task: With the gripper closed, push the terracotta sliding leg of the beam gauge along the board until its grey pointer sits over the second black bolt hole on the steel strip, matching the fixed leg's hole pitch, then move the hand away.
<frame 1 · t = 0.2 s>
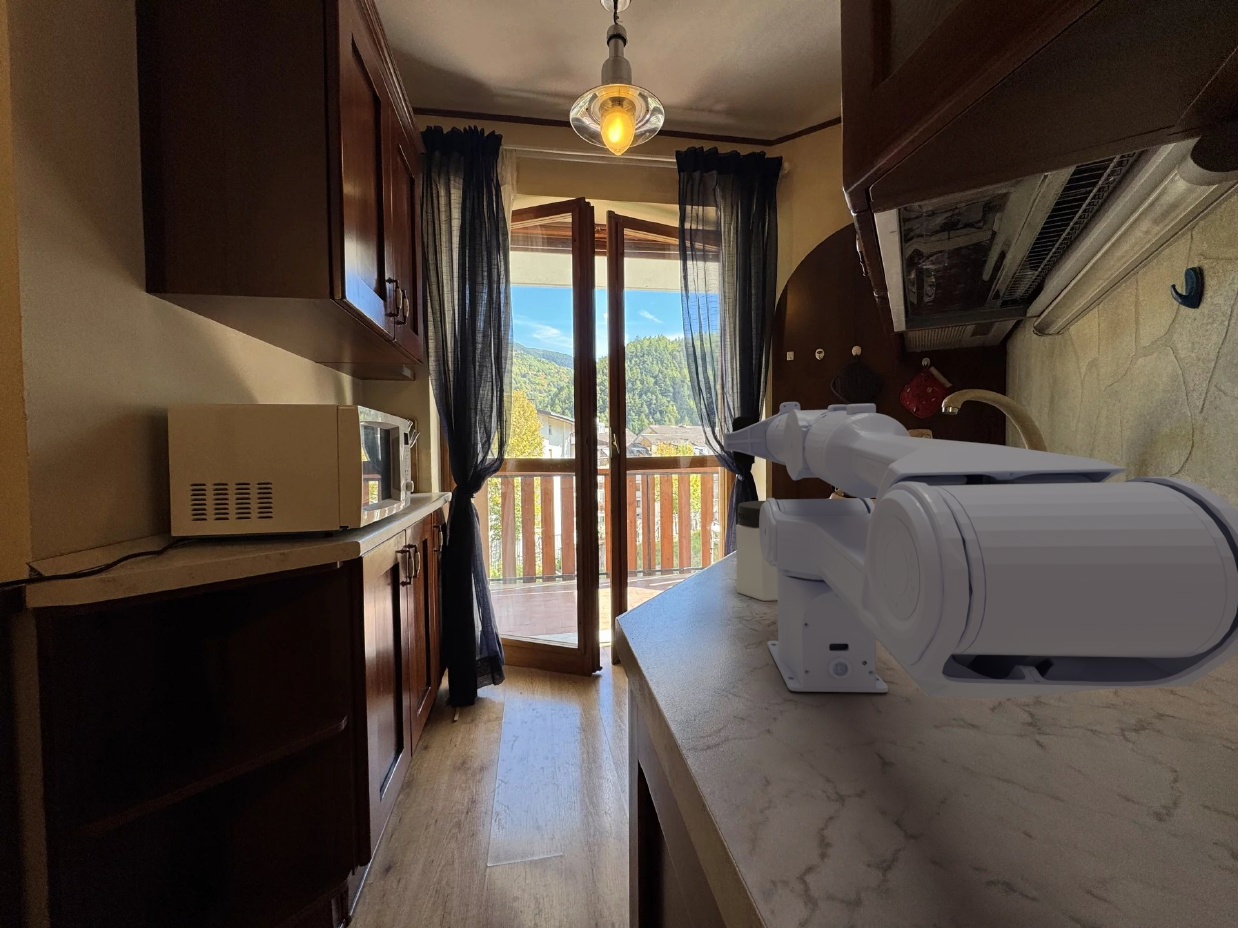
hand: (775, 436, 65), 21 cm above the worktop, tool horizontal, fingers open, 7 cm apart
board: (959, 617, 57), on the worktop
fixed leg: (889, 625, 56), resting on board
sliding leg: (937, 588, 58), point 3 cm above the worktop, slide at 0.0 cm
jar: (769, 592, 69), on the worktop
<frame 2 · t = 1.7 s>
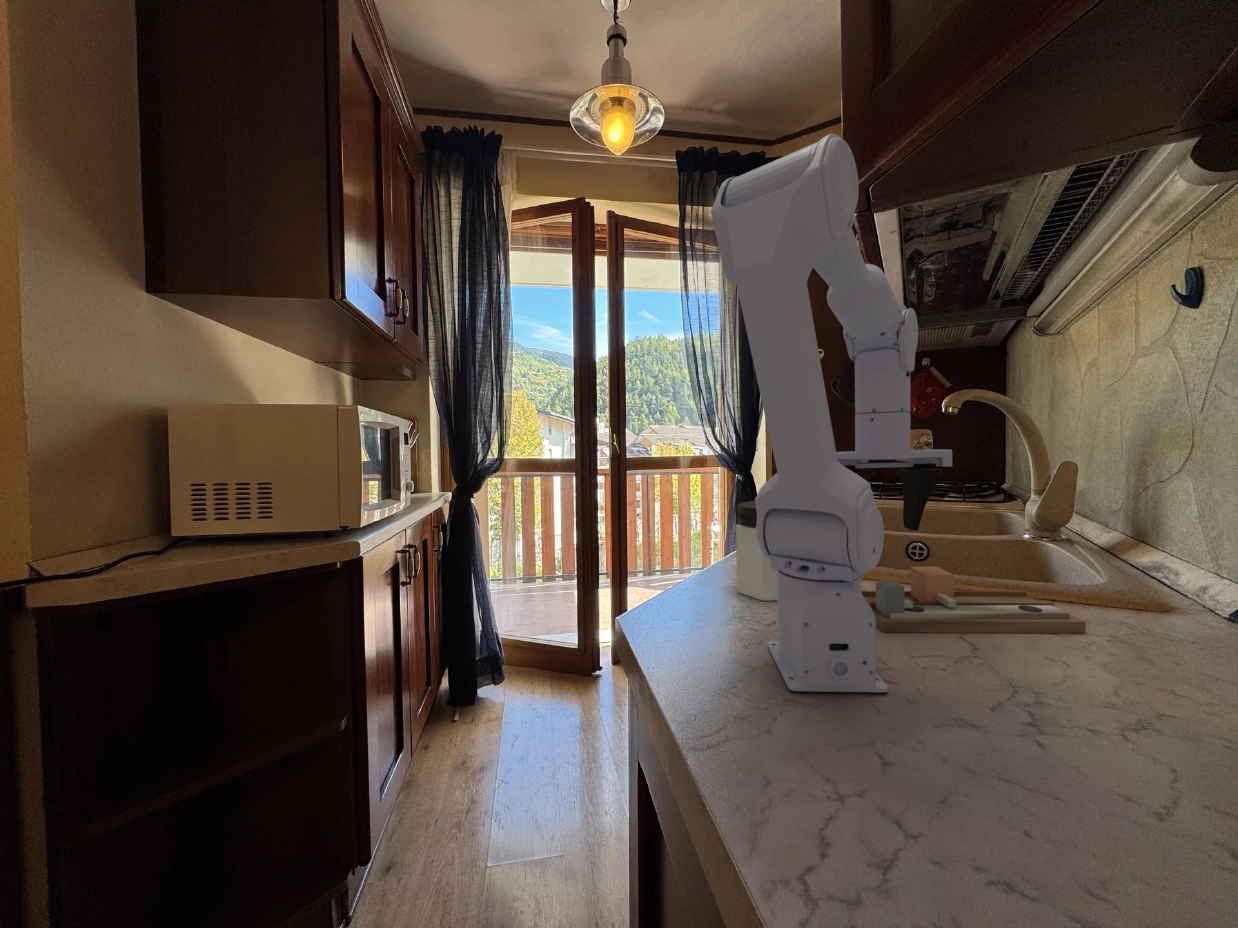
hand: (882, 529, 59), 10 cm above the worktop, tool pointing down, fingers open, 6 cm apart
nothing on the worktop moved.
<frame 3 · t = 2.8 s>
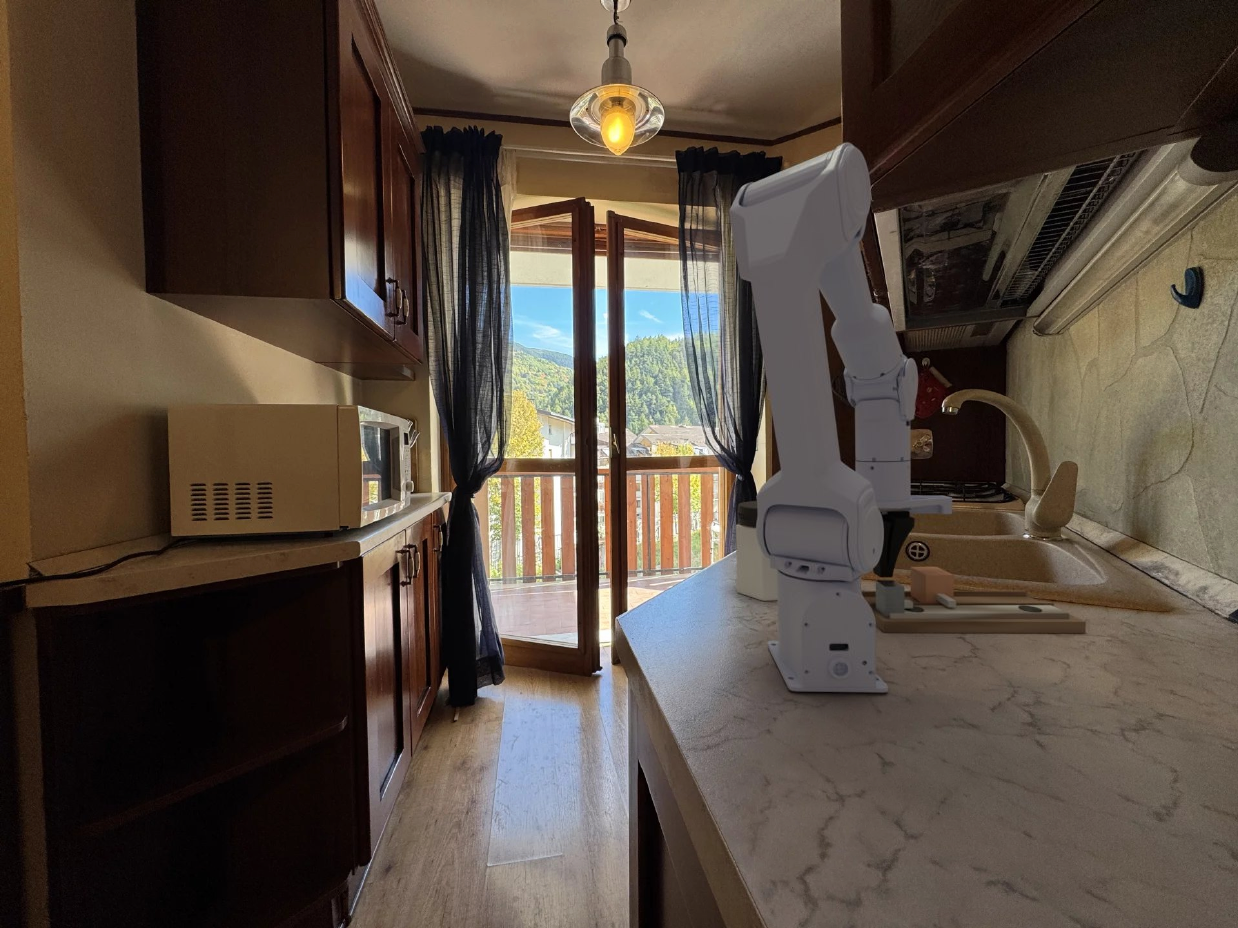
hand: (882, 575, 60), 4 cm above the worktop, tool pointing down, fingers closed
nothing on the worktop moved.
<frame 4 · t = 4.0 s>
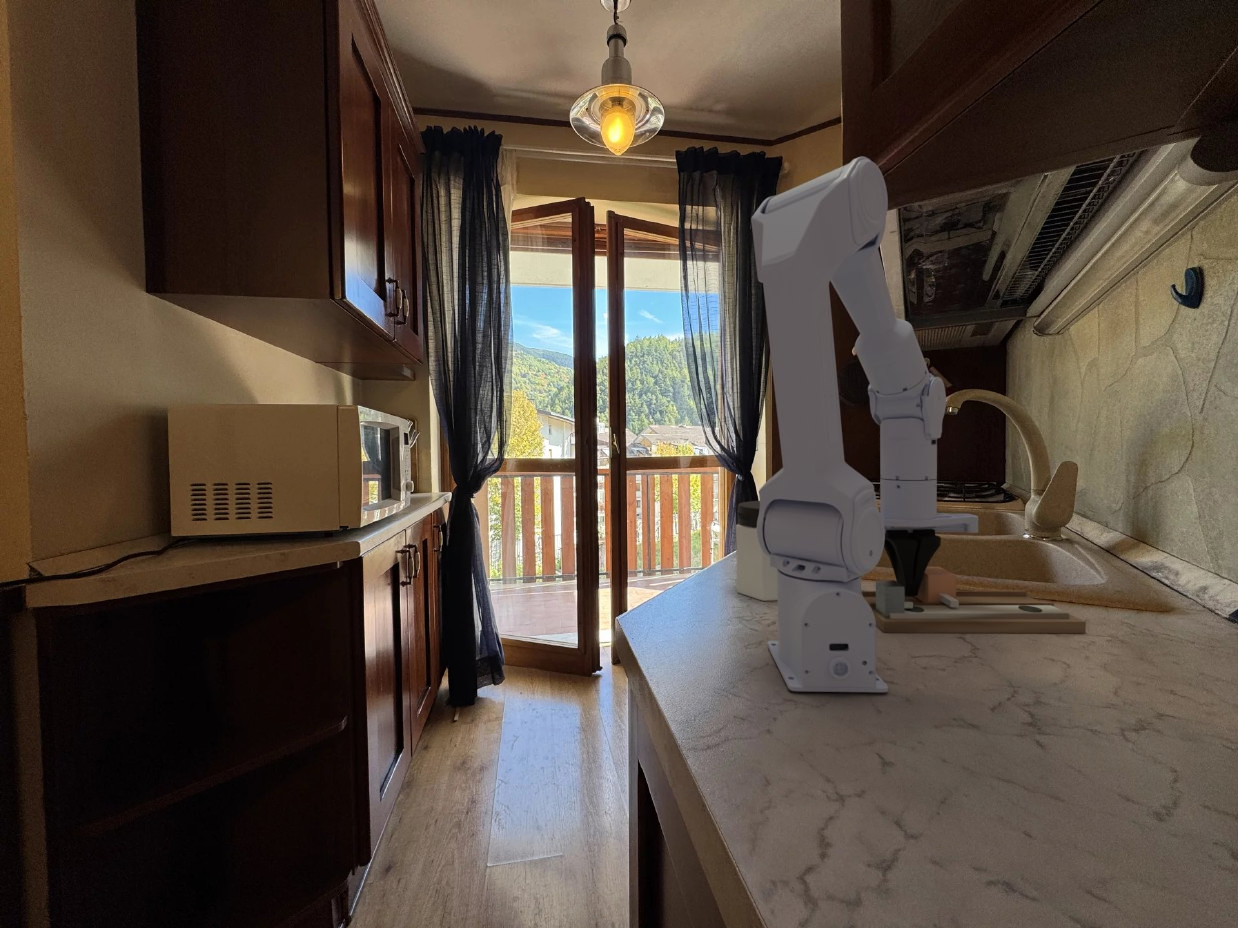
hand: (907, 593, 60), 2 cm above the worktop, tool pointing down, fingers closed
sliding leg: (939, 588, 58), point 3 cm above the worktop, slide at 0.3 cm, touching gripper
everything else where it was.
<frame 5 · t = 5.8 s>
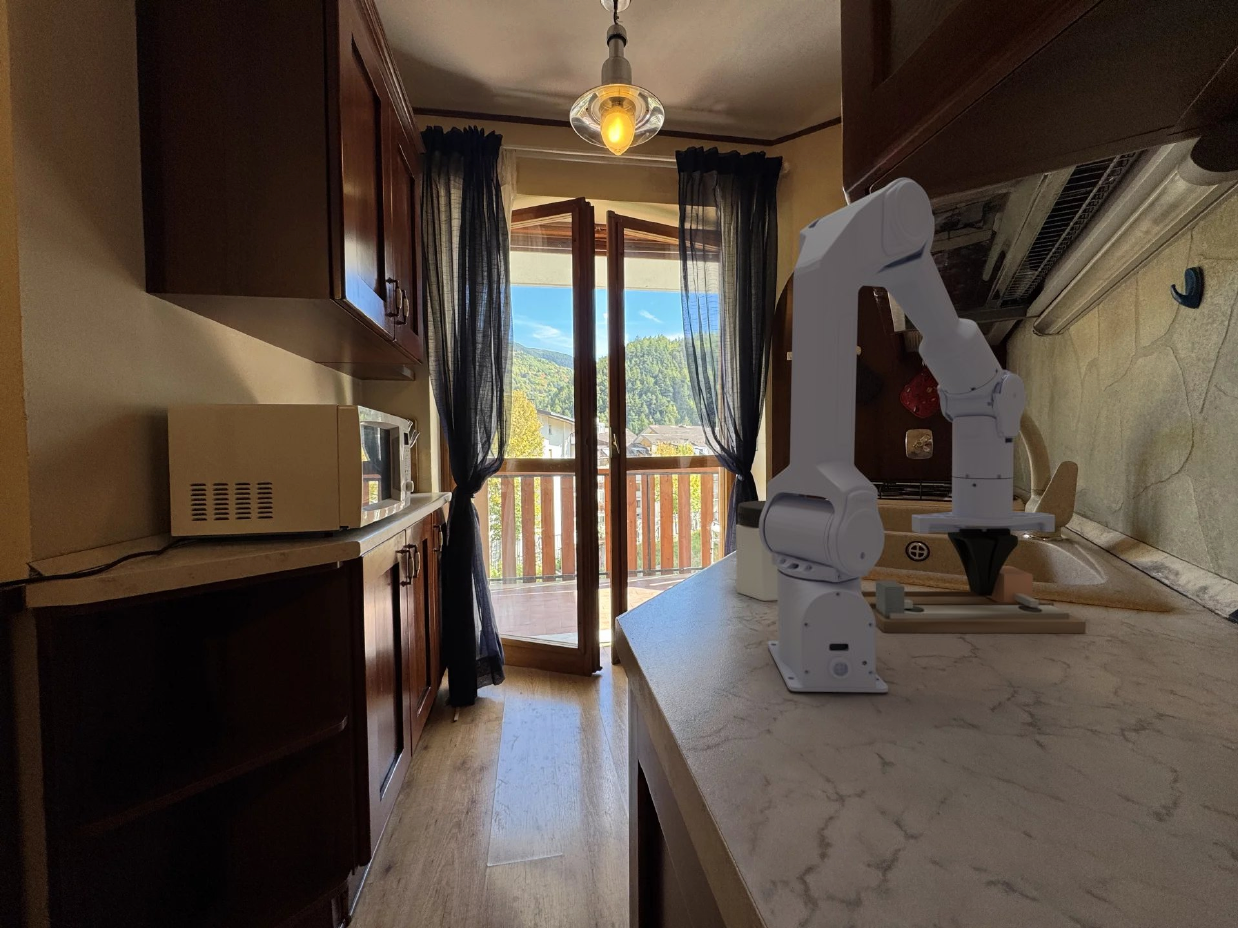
hand: (980, 593, 59), 2 cm above the worktop, tool pointing down, fingers closed
sliding leg: (1015, 588, 57), point 3 cm above the worktop, slide at 8.4 cm, touching gripper
everything else where it was.
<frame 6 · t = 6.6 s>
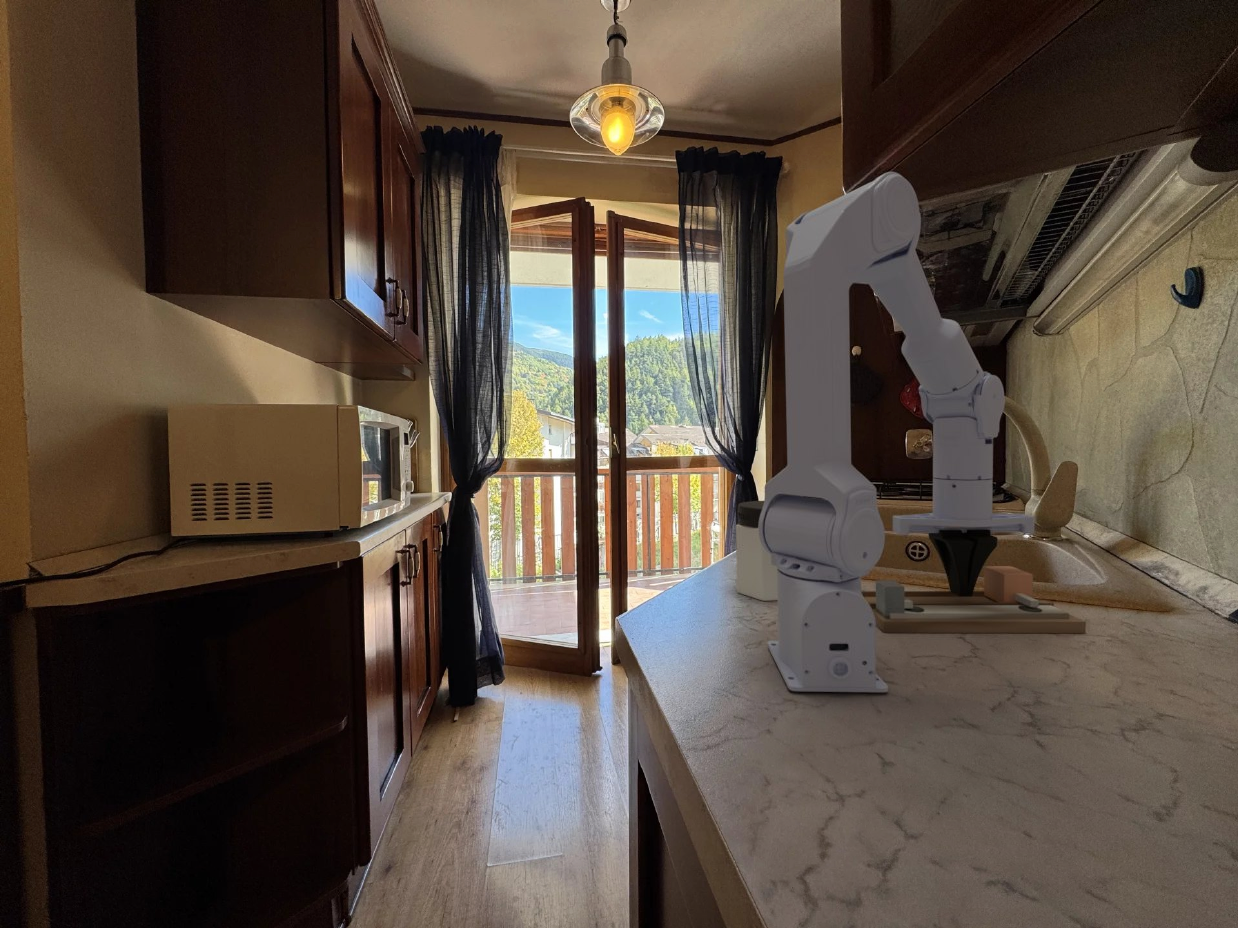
hand: (961, 594, 59), 2 cm above the worktop, tool pointing down, fingers closed
sliding leg: (1015, 588, 57), point 3 cm above the worktop, slide at 8.4 cm
everything else where it was.
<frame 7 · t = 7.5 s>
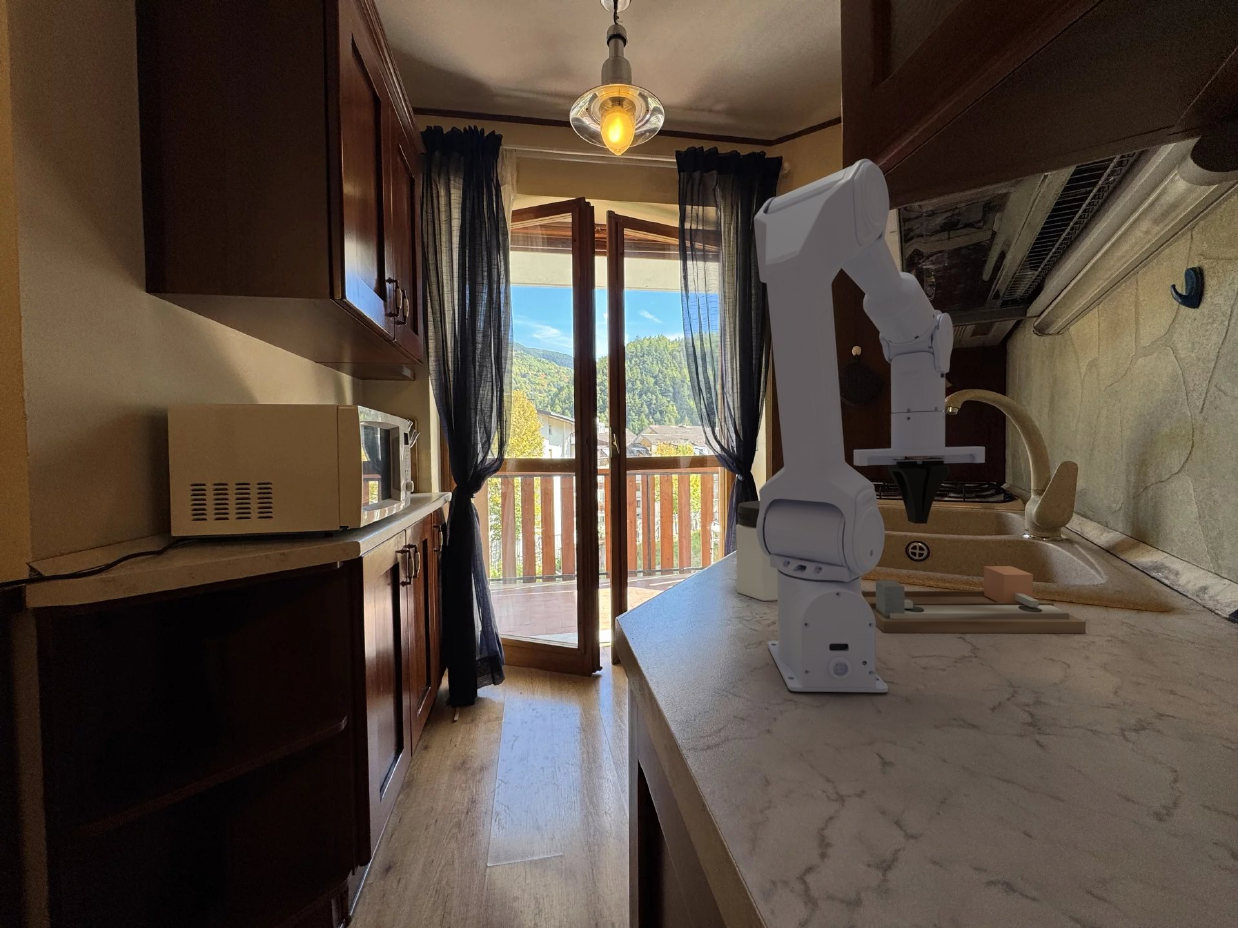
hand: (917, 522, 63), 10 cm above the worktop, tool pointing down, fingers closed
nothing on the worktop moved.
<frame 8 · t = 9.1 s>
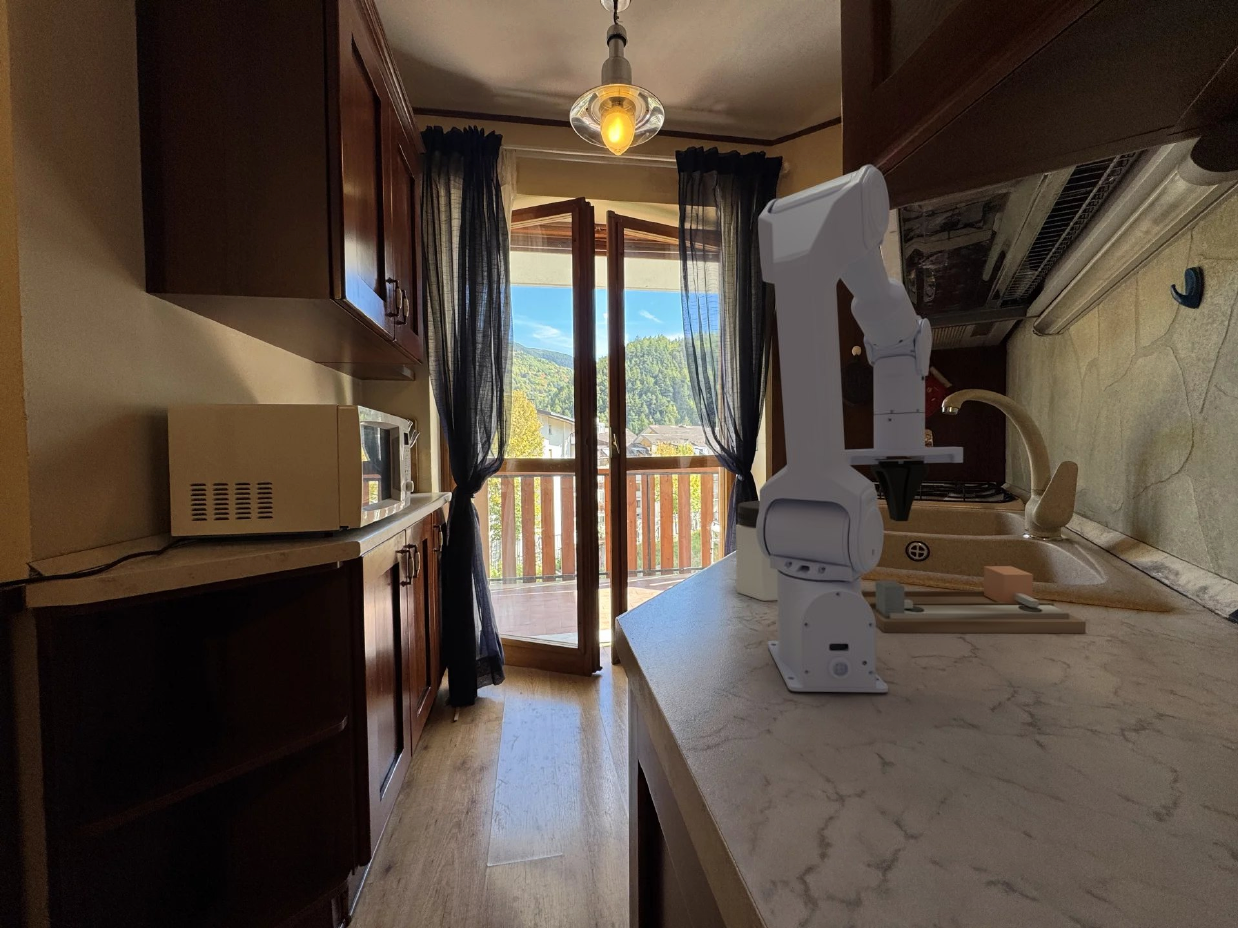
hand: (898, 520, 65), 10 cm above the worktop, tool pointing down, fingers closed
nothing on the worktop moved.
at the end: sliding leg slide at 8.4 cm; sliding leg 0.4 cm from the target spot, resting on board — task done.
